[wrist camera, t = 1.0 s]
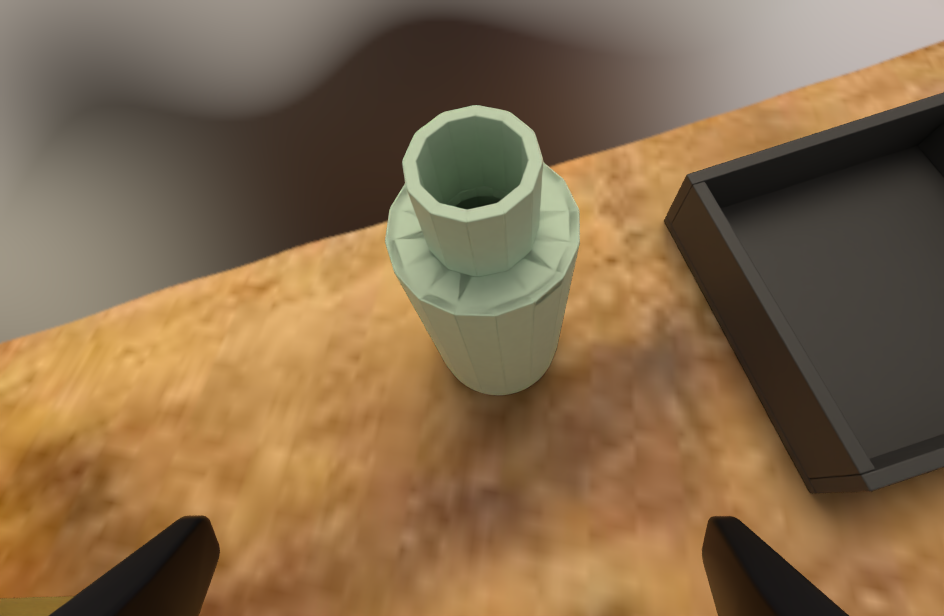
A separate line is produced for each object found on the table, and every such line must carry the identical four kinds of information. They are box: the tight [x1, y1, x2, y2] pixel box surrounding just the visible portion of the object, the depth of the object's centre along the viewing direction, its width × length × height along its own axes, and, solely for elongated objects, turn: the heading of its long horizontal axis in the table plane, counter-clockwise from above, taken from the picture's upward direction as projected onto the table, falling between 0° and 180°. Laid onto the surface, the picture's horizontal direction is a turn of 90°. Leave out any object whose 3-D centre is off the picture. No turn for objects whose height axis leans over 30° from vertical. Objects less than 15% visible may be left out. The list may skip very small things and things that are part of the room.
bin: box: [664, 93, 944, 493], centre depth 22 cm, size 14×14×4 cm
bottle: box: [385, 105, 580, 395], centre depth 18 cm, size 6×6×14 cm
